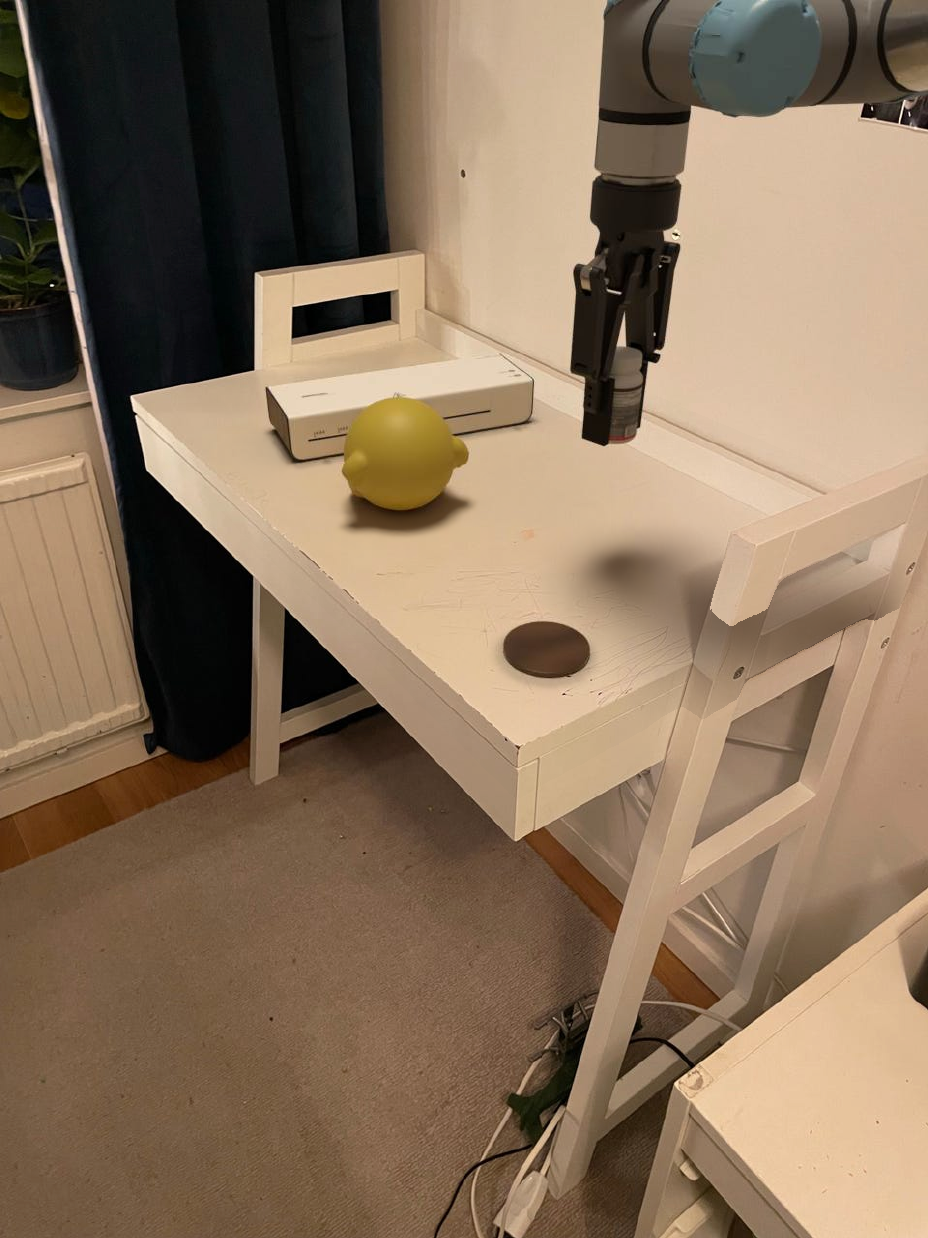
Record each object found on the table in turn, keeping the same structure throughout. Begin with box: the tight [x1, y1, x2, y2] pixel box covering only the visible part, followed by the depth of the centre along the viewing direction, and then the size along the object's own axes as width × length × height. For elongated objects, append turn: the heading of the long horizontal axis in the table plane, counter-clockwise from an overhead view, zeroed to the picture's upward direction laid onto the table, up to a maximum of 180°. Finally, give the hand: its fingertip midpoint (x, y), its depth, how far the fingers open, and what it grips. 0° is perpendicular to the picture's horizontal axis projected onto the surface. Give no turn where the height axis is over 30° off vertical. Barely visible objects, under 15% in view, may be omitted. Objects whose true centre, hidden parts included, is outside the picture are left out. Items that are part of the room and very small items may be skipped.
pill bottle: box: [608, 345, 643, 445], centre depth 90 cm, size 5×5×8 cm
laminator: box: [264, 352, 535, 462], centre depth 126 cm, size 34×12×6 cm, turn 113°
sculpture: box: [341, 397, 470, 511], centre depth 106 cm, size 15×13×13 cm
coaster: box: [502, 620, 591, 678], centre depth 87 cm, size 8×8×1 cm
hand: (611, 432), depth 92 cm, fingers closed on pill bottle, 5 cm apart
